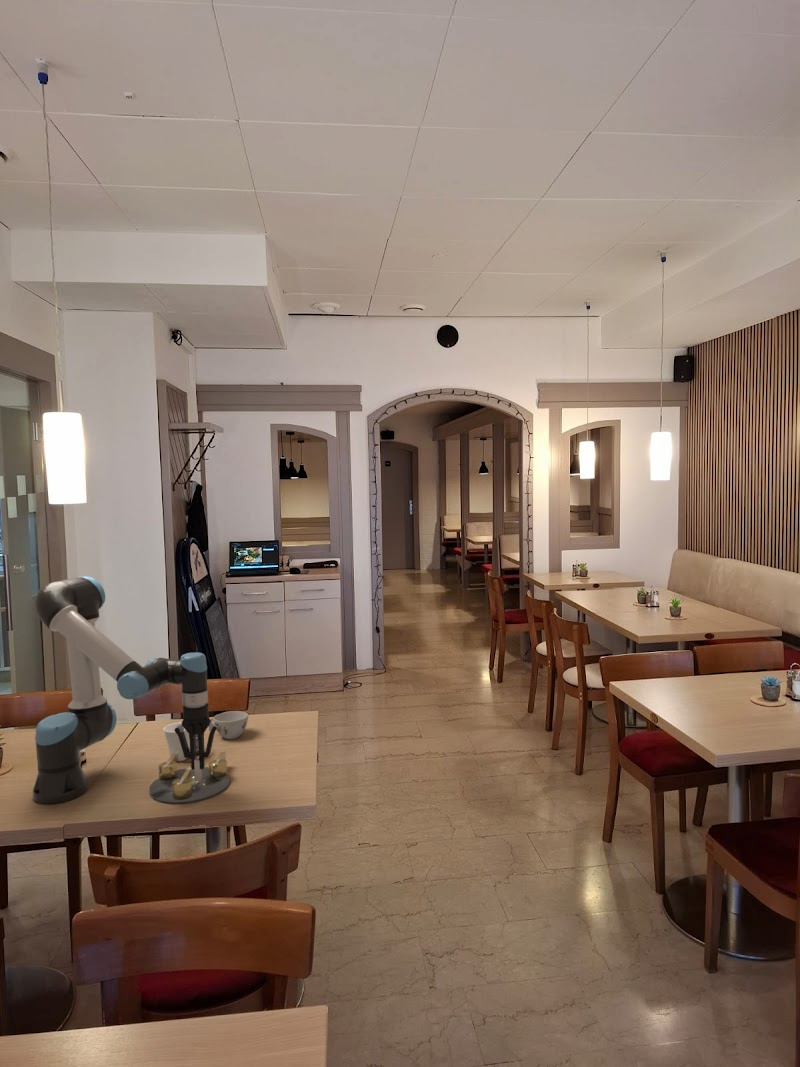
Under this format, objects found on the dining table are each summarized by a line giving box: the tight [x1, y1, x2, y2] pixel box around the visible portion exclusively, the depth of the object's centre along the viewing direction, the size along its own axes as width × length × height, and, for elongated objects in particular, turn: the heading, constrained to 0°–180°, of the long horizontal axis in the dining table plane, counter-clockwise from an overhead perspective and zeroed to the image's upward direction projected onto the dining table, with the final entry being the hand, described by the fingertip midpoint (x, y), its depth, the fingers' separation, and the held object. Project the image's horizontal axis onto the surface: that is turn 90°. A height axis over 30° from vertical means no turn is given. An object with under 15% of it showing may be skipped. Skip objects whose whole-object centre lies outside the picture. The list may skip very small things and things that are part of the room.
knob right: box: [208, 748, 228, 779], centre depth 228 cm, size 13×6×4 cm, turn 3°
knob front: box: [172, 766, 193, 799], centre depth 214 cm, size 13×6×4 cm, turn 3°
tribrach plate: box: [148, 766, 231, 805], centre depth 220 cm, size 24×24×2 cm
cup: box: [162, 721, 190, 762], centre depth 242 cm, size 10×10×11 cm
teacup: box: [209, 710, 249, 740], centre depth 262 cm, size 15×12×8 cm
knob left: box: [158, 751, 179, 781], centre depth 227 cm, size 13×6×4 cm, turn 3°
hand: (198, 778), depth 217 cm, fingers closed
